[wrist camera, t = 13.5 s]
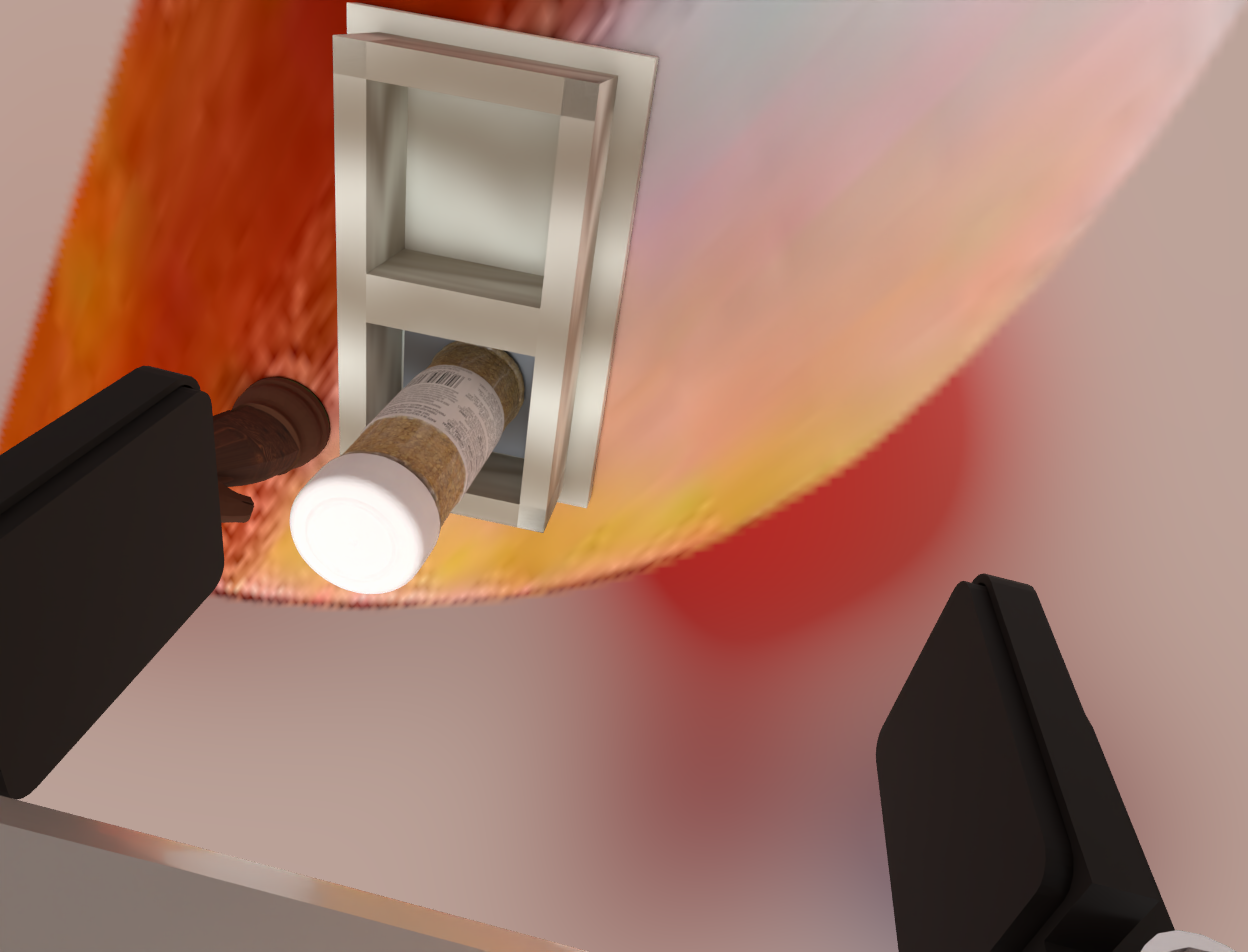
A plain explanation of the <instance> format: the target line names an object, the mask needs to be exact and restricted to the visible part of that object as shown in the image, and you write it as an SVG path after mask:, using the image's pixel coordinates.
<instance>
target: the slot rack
mask: <svg viewBox="0 0 1248 952" xmlns="http://www.w3.org/2000/svg"><path fill="white" fill-rule="evenodd" d="M658 60H659V57H657V56H651V55H646V54H640V53H635V52H629V51H623V50H618V49H612V48H607V47H601V46H596V45H590V44H585V43H579V42H574V41H568V40H562V39H557V38H551V37H546V36H540V35H535V34H529V33H524V32H518V31H513V30H507V29H501V28H496V27H490V26H485V25H479V24H474V23H468V22H463V21H457V20H452V19H446V18H440V17H435V16H429V15H424V14H418V13H413V12H407V11H402V10H396V9H391V8H385V7H379V6H374V5H368V4H363V3H347V34H341V35H333V81H334V139H335V197H336V255H337V314H338V372H339V430H340V456H341V455H342V454H343V453H344V452H345V451H346V450H347V449H348V448H349V447H350V446H351V445H352V444H353V443H354V442H355V441H356V440H357V439H358V437H359V436H360V434H361V432H362V431H363V430H364V428H365V427H366V426H367V425H368V424H369V423H370V422H371V421H372V420H373V419H374V418H375V417H376V416H377V415H378V414H379V413H380V412H381V411H382V410H383V409H384V408H385V407H386V406H387V405H388V404H389V403H390V402H391V401H392V400H393V398H394V397H395V396H396V395H397V394H398V393H399V392H400V391H401V390H402V389H403V388H404V387H405V386H406V385H407V384H408V383H410V382H411V380H412V379H413V378H414V377H416V376H417V375H418V374H419V373H420V372H422V371H424V370H426V368H427V367H428V366H429V365H430V364H431V363H432V361H433V358H434V357H435V355H436V354H437V353H439V352H440V351H441V350H442V349H443V348H444V347H445V346H446V345H448V344H450V343H452V342H455V341H460V342H465V343H470V344H475V345H480V346H485V347H490V348H495V349H500V350H503V351H504V352H506V353H507V354H508V355H509V356H510V357H511V358H512V359H513V360H514V362H515V363H516V364H517V365H518V367H519V370H520V372H521V374H522V377H523V382H524V402H523V404H522V406H521V408H520V410H519V412H518V414H517V415H516V417H515V418H514V419H513V420H512V421H511V422H510V423H509V424H508V425H507V426H506V428H505V429H504V431H503V433H502V435H501V437H500V440H499V441H498V443H497V445H496V446H495V448H494V449H493V451H492V453H491V454H490V456H489V457H488V459H487V460H486V462H485V463H484V465H483V466H482V468H481V470H480V471H479V473H478V474H477V476H476V477H475V479H474V480H473V482H472V484H471V485H470V487H469V488H468V490H467V491H466V493H465V494H464V496H463V498H462V499H461V501H460V502H459V503H458V504H457V505H455V507H454V508H453V509H452V511H451V512H450V513H453V514H458V515H463V516H467V517H472V518H476V519H481V520H486V521H490V522H495V523H500V524H504V525H509V526H513V527H518V528H523V529H527V530H532V531H537V532H541V533H544V530H545V528H546V526H547V523H548V521H549V519H550V517H551V514H552V512H553V510H554V508H555V505H556V503H557V502H560V503H565V504H569V505H574V506H579V507H583V508H587V506H588V504H589V501H590V498H591V493H592V486H593V480H594V473H595V467H596V460H597V454H598V447H599V441H600V434H601V428H602V422H603V415H604V409H605V402H606V396H607V389H608V383H609V376H610V370H611V363H612V357H613V351H614V344H615V338H616V331H617V325H618V318H619V312H620V305H621V299H622V292H623V286H624V279H625V273H626V267H627V260H628V254H629V247H630V241H631V234H632V228H633V221H634V215H635V208H636V202H637V196H638V189H639V183H640V176H641V170H642V163H643V157H644V150H645V144H646V137H647V131H648V125H649V118H650V112H651V105H652V99H653V92H654V86H655V79H656V73H657V66H658Z"/></svg>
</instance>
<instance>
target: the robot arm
mask: <svg viewBox="0 0 1248 952" xmlns="http://www.w3.org/2000/svg"><path fill="white" fill-rule="evenodd" d="M223 568H224V552H223V539H222V527H221V514H220V502H219V489H218V477H217V465H216V452H215V440H214V427H213V415H212V404H211V399H210V397H209V395H208V394H207V393H205V392H203V391H201V390H200V386H199V384H198V383H197V381H196V380H195V379H194V378H192V377H191V376H187V375H183V374H179V373H175V372H171V371H167V370H163V369H159V368H155V367H151V366H141V367H139V368H137V369H135V370H133V371H132V372H130V373H129V374H127V375H125V376H124V377H122V378H121V379H119V380H118V381H116V382H114V383H113V384H111V385H110V386H108V387H107V388H105V389H103V390H102V391H100V392H99V393H97V394H96V395H94V396H92V397H91V398H89V399H88V400H86V401H85V402H83V403H81V404H80V405H78V406H77V407H75V408H74V409H72V410H70V411H69V412H67V413H66V414H64V415H63V416H61V417H59V418H58V419H56V420H55V421H53V422H52V423H50V424H49V425H47V426H45V427H44V428H42V429H41V430H39V431H38V432H36V433H34V434H33V435H31V436H30V437H28V438H27V439H25V440H23V441H22V442H20V443H19V444H17V445H16V446H14V447H12V448H11V449H9V450H8V451H6V452H5V453H3V454H1V455H0V952H588V951H585V950H581V949H577V948H574V947H570V946H566V945H563V944H559V943H555V942H552V941H548V940H544V939H541V938H537V937H533V936H529V935H526V934H522V933H518V932H515V931H511V930H507V929H503V928H500V927H495V926H492V925H488V924H485V923H481V922H477V921H474V920H470V919H466V918H462V917H459V916H455V915H451V914H447V913H444V912H440V911H436V910H432V909H429V908H425V907H421V906H417V905H414V904H410V903H406V902H402V901H399V900H395V899H391V898H387V897H384V896H380V895H376V894H372V893H369V892H365V891H361V890H358V889H354V888H350V887H346V886H343V885H339V884H335V883H331V882H327V881H324V880H320V879H316V878H312V877H308V876H305V875H301V874H297V873H293V872H290V871H286V870H282V869H278V868H275V867H271V866H267V865H263V864H260V863H256V862H252V861H249V860H245V859H241V858H237V857H233V856H230V855H225V854H222V853H218V852H214V851H210V850H207V849H203V848H199V847H195V846H191V845H187V844H184V843H179V842H176V841H172V840H168V839H164V838H161V837H157V836H153V835H149V834H145V833H141V832H138V831H134V830H130V829H126V828H122V827H119V826H115V825H111V824H107V823H103V822H99V821H96V820H92V819H87V818H84V817H80V816H76V815H72V814H69V813H65V812H61V811H57V810H53V809H50V808H46V807H42V806H38V805H34V804H30V803H27V802H22V801H19V800H17V799H21V798H24V797H25V796H27V795H29V794H30V793H31V792H32V791H33V790H34V789H35V788H37V786H38V785H39V784H40V783H41V782H42V781H43V780H44V779H45V778H46V776H47V775H48V774H49V773H50V772H51V771H52V770H53V768H55V766H56V765H57V764H58V763H59V762H60V761H61V760H62V759H63V757H64V756H65V755H66V754H67V753H68V752H69V751H70V750H71V749H72V747H73V746H74V745H75V744H76V743H77V742H78V741H79V740H80V738H81V737H82V736H83V735H84V734H85V733H86V732H87V731H88V730H89V728H90V727H91V726H92V725H93V724H94V723H95V722H96V721H97V719H98V718H99V717H100V716H101V715H102V714H103V713H104V712H105V711H106V710H107V708H108V707H109V706H110V705H111V704H112V703H113V702H114V700H115V699H116V698H117V697H118V696H119V695H120V694H121V693H122V692H123V691H124V689H125V688H126V687H127V686H128V685H129V684H130V683H131V682H132V680H133V679H134V678H135V677H136V676H137V675H138V674H139V673H140V672H141V671H142V669H143V668H144V667H145V666H146V665H147V664H148V663H149V662H150V660H151V659H152V658H153V657H154V656H155V655H156V654H157V653H158V652H159V650H160V649H161V648H162V647H163V646H164V645H165V644H166V643H167V642H168V640H169V639H170V638H171V637H172V636H173V635H174V634H175V633H176V631H177V630H178V629H179V628H180V627H181V626H182V625H183V624H184V623H185V621H186V620H187V619H188V618H189V617H190V616H191V615H192V614H193V613H194V611H195V610H196V609H197V608H198V607H199V606H200V604H202V602H203V601H204V600H205V599H206V598H207V597H208V596H209V595H210V594H211V593H212V591H213V590H214V589H215V587H216V586H217V584H218V582H219V581H220V578H221V576H222V573H223ZM876 763H877V771H878V780H879V789H880V797H881V806H882V814H883V822H884V831H885V839H886V848H887V856H888V865H889V873H890V881H891V890H892V898H893V906H894V916H895V924H896V932H897V941H898V949H899V952H1236V951H1234V950H1233V949H1231V948H1230V947H1228V946H1226V945H1224V944H1222V943H1219V942H1217V941H1215V940H1213V939H1210V938H1208V937H1206V936H1204V935H1201V934H1196V933H1190V932H1185V931H1180V930H1175V929H1174V927H1173V924H1172V922H1171V920H1170V917H1169V915H1168V912H1167V910H1166V907H1165V905H1164V902H1163V900H1162V898H1161V895H1160V892H1159V890H1158V887H1157V885H1156V882H1155V880H1154V877H1153V875H1152V873H1151V870H1150V868H1149V865H1148V863H1147V860H1146V858H1145V855H1144V853H1143V850H1142V848H1141V845H1140V843H1139V840H1138V838H1137V835H1136V833H1135V830H1134V828H1133V826H1132V823H1131V821H1130V818H1129V816H1128V813H1127V811H1126V808H1125V806H1124V803H1123V801H1122V798H1121V796H1120V793H1119V791H1118V789H1117V786H1116V784H1115V781H1114V779H1113V776H1112V774H1111V771H1110V769H1109V767H1108V764H1107V761H1106V759H1105V757H1104V754H1103V751H1102V749H1101V747H1100V744H1099V742H1098V739H1097V737H1096V734H1095V732H1094V729H1093V727H1092V725H1091V724H1090V722H1089V720H1088V718H1087V717H1086V715H1085V713H1084V710H1083V708H1082V706H1081V703H1080V700H1079V698H1078V695H1077V693H1076V691H1075V688H1074V685H1073V683H1072V680H1071V678H1070V675H1069V673H1068V670H1067V668H1066V665H1065V663H1064V660H1063V658H1062V655H1061V653H1060V650H1059V648H1058V645H1057V643H1056V641H1055V638H1054V636H1053V633H1052V631H1051V628H1050V626H1049V623H1048V621H1047V618H1046V616H1045V613H1044V611H1043V608H1042V606H1041V603H1040V601H1039V598H1038V596H1037V593H1036V591H1035V590H1034V588H1033V587H1032V586H1030V585H1028V584H1024V583H1020V582H1016V581H1012V580H1007V579H1004V578H1000V577H996V576H992V575H988V574H980V575H978V576H977V577H976V578H975V579H974V580H973V582H972V583H970V582H966V581H962V582H960V583H959V584H957V586H956V587H955V589H954V591H953V592H952V594H951V596H950V598H949V600H948V602H947V604H946V606H945V608H944V610H943V611H942V613H941V615H940V617H939V619H938V621H937V623H936V625H935V627H934V629H933V631H932V633H931V634H930V637H929V638H928V640H927V642H926V644H925V646H924V648H923V650H922V652H921V654H920V656H919V658H918V660H917V661H916V663H915V665H914V667H913V669H912V671H911V673H910V675H909V677H908V679H907V681H906V683H905V684H904V686H903V688H902V690H901V692H900V694H899V696H898V698H897V700H896V702H895V704H894V706H893V708H892V710H891V711H890V713H889V715H888V717H887V719H886V721H885V723H884V725H883V727H882V729H881V731H880V734H879V737H878V741H877V747H876ZM15 799H16V800H15Z"/></svg>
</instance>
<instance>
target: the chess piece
mask: <svg viewBox="0 0 1248 952" xmlns="http://www.w3.org/2000/svg"><path fill="white" fill-rule="evenodd" d="M213 427H214V440H215V452H216V465H217V477H218V489H219V502H220V514H221V523H225V522H243V523H244V522H247V521H248V520H249V519H250V516H251V514H252V511H253V508H254V506H253V505H254V503H253V501H252V499H251V497H248V496H244V495H241V494H238V493H236V492H234V491H232V490H231V489H229V488H228V487H233V486H242V485H248V484H253V483H257V482H261V481H264V480H266V479H269V478H272V477H274V476H276V475H281V474H285V473H287V472H288V471H290V470H292V469H294V468H297V467H301V466H302V465H304V464H306V463H307V462H309V461H310V460H311V459H313V458H314V457H316V456H317V455H318V454H319V453H320V452H321V451H322V450H323V449H324V447H325V446H326V443H327V441H328V437H329V420H328V416H327V414H326V411H325V409H324V407H323V405H322V404H321V402H320V401H319V400H318V398H317V397H316V396H315V395H314V394H313V393H312V392H311V391H310V390H308V389H307V388H306V387H304V386H302V385H301V384H299V383H297V382H294V381H292V380H289V379H285V378H275V377H273V378H265V379H262V380H259V381H257V382H256V383H254V384H252V385H251V386H250V387H249V388H247V389H246V391H245V392H244V393H243V394H242V395H241V396H240V397H239V398H238V399H237V401H236V402H235V404H234V406H233V409H232V410H231V411H230V410H228V411H226V412H223V413H220V414H217V415H215V416H213Z"/></svg>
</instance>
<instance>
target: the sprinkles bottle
mask: <svg viewBox="0 0 1248 952" xmlns="http://www.w3.org/2000/svg"><path fill="white" fill-rule="evenodd" d="M523 402H524V382H523V377H522V374H521V372H520V370H519V367H518V365H517V364H516V363H515V362H514V360H513V359H512V358H511V357H510V356H509V355H508V354H507V353H506V352H504V351H503V350H500V349H495V348H490V347H485V346H480V345H475V344H470V343H465V342H460V341H455V342H452V343H450V344H448V345H446V346H445V347H444V348H443V349H442V350H441V351H440V352H439V353H437V354H436V355H435V357H434V358H433V361H432V363H431V364H430V365H429V366H428V367H427V368H426V370H424V371H422V372H420V373H419V374H418V375H417V376H416V377H414V378H413V379H412V380H411V382H410V383H408V384H407V385H406V386H405V387H404V388H403V389H402V390H401V391H400V392H399V393H398V394H397V395H396V396H395V397H394V398H393V400H392V401H391V402H390V403H389V404H388V405H387V406H386V407H385V408H384V409H383V410H382V411H381V412H380V413H379V414H378V415H377V416H376V417H375V418H374V419H373V420H372V421H371V422H370V423H369V424H368V425H367V426H366V427H365V428H364V430H363V431H362V432H361V434H360V436H359V437H358V439H357V440H356V441H355V442H354V443H353V444H352V445H351V446H350V447H349V448H348V449H347V450H346V451H345V452H344V453H343V454H342V455H341V456H339V457H337V458H335V459H333V460H331V461H330V462H328V463H327V464H326V465H325V466H323V467H322V468H321V469H320V470H319V471H318V472H317V473H316V474H315V475H314V476H313V477H312V478H311V479H310V480H309V482H308V483H307V484H306V485H305V486H304V487H303V489H302V490H301V491H300V492H299V494H298V495H297V496H296V498H295V500H294V502H293V505H292V508H291V513H290V530H291V534H292V538H293V541H294V543H295V545H296V548H297V550H298V552H299V553H300V555H301V556H302V558H303V559H304V560H305V562H306V563H307V564H308V565H309V566H310V567H311V568H312V569H313V570H314V571H315V572H316V573H317V574H319V575H320V576H321V577H323V578H324V579H326V580H327V581H329V582H330V583H332V584H334V585H336V586H338V587H340V588H343V589H346V590H349V591H353V592H357V593H363V594H381V593H386V592H390V591H393V590H396V589H398V588H400V587H402V586H403V585H405V584H407V583H408V582H409V581H410V580H411V579H412V578H413V577H414V576H415V575H416V574H417V572H418V571H419V569H420V568H421V567H422V565H423V564H424V562H425V561H426V559H427V558H428V556H429V555H430V553H431V552H432V550H433V548H434V547H435V545H436V542H437V540H438V537H439V533H440V529H441V526H442V525H443V523H444V521H445V520H446V518H447V517H448V515H449V514H450V512H451V511H452V509H453V508H454V507H455V505H457V504H458V503H459V502H460V501H461V499H462V498H463V496H464V494H465V493H466V491H467V490H468V488H469V487H470V485H471V484H472V482H473V480H474V479H475V477H476V476H477V474H478V473H479V471H480V470H481V468H482V466H483V465H484V463H485V462H486V460H487V459H488V457H489V456H490V454H491V453H492V451H493V449H494V448H495V446H496V445H497V443H498V441H499V440H500V437H501V435H502V433H503V431H504V429H505V428H506V426H507V425H508V424H509V423H510V422H511V421H512V420H513V419H514V418H515V417H516V415H517V414H518V412H519V410H520V408H521V406H522V404H523Z"/></svg>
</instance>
